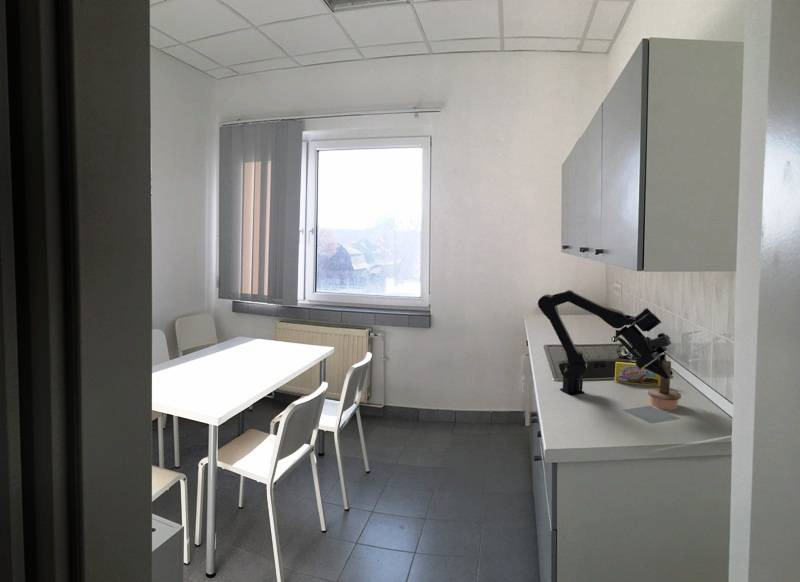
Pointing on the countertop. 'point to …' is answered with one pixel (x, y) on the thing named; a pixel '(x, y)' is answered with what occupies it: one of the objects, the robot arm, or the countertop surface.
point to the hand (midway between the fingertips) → (670, 376)
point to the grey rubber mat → (651, 414)
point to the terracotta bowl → (664, 403)
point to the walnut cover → (664, 386)
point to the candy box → (635, 374)
